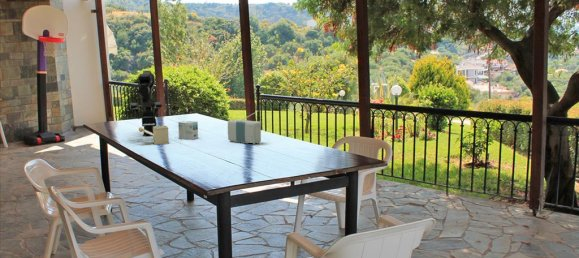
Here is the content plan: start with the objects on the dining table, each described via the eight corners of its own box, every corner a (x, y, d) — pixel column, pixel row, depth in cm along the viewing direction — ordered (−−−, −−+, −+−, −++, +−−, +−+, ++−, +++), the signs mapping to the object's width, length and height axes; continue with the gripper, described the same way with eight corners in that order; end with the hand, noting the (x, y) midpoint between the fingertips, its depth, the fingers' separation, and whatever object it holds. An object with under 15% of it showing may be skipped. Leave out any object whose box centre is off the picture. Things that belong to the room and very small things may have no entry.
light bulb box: (198, 138, 355) (198, 121, 353) (193, 139, 348) (192, 122, 347) (183, 137, 358) (183, 120, 356) (178, 138, 352) (177, 122, 350)
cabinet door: (153, 131, 340) (139, 125, 337) (154, 134, 332) (140, 127, 328) (151, 135, 340) (137, 128, 337) (153, 137, 332) (138, 131, 328)
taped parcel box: (227, 141, 341) (226, 109, 338) (236, 140, 347) (235, 108, 344) (254, 145, 329) (253, 111, 326) (262, 143, 336) (262, 110, 333)
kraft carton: (166, 140, 344) (166, 125, 343) (168, 143, 335) (168, 128, 333) (153, 141, 341) (152, 126, 340) (155, 144, 332) (154, 128, 331)
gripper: (130, 95, 334) (131, 121, 336) (162, 94, 340) (163, 120, 342) (129, 94, 344) (130, 119, 347) (160, 93, 350) (161, 117, 353)
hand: (146, 119), depth 347 cm, fingers open, 9 cm apart
